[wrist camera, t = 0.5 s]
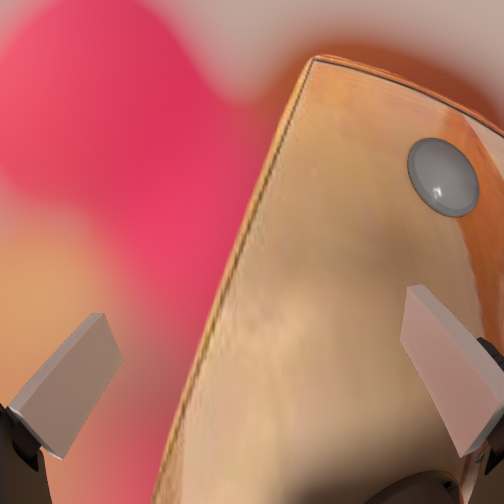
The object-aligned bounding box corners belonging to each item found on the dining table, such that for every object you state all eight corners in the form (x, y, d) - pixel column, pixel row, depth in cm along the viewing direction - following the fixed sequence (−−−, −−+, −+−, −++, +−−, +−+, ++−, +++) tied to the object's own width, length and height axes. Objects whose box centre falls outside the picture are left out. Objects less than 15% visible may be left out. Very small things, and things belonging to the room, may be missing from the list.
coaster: (487, 208, 25) (491, 205, 24) (429, 226, 26) (432, 223, 25) (453, 138, 28) (455, 134, 27) (393, 146, 29) (395, 142, 28)
